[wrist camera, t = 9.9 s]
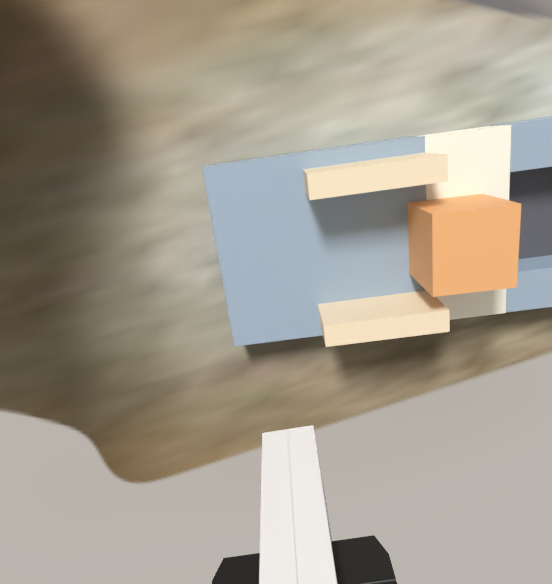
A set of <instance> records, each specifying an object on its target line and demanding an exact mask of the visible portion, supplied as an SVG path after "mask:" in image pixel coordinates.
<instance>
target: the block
mask: <svg viewBox="0 0 552 584" xmlns="http://www.w3.org/2000/svg"><path fill="white" fill-rule="evenodd" d="M520 221H521V203H517V202H513V201H509V200H505V199H501V198H497V197H494V196H490V195H486V194H475V195H467V196H458V197H450V198H441V199H433V200H424V201H416V202H408V245H409V274H410V275H411V276H412V277H413V278H414V279H415V280H416V281H417V282H418V283H419V284H420V285H421V286H422V287H423V288H424V289H425V290H426V291H427V292H428V293H429V294H430V295H431V296H432V297H437V296H446V295H455V294H463V293H472V292H481V291H490V290H499V289H508V288H517V275H518V257H519V239H520Z"/></svg>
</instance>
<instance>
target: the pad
mask: <svg viewBox="0 0 552 584" xmlns="http://www.w3.org/2000/svg"><path fill="white" fill-rule="evenodd" d="M422 136H425V152H426V153H437V154H448V181H447V182H440V183H433V184H426V200H433V199H441V198H450V197H458V196H467V195H475V194H486V195H490V196H494V197H497V198H501V199H505V200H509V187H510V155H511V154H510V153H511V149H510V148H511V125H498V126H486V127H479V128H472V129H465V130H458V131H451V132H444V133H437V134H430V135H422ZM436 298H438V299H439V300H440V301H441V302H442V303H443V304H444V305H445V306H446V307H447V308H448V309H449V317H450V320H454V319H462V318H470V317H478V316H486V315H494V314H502V313H506V289H499V290H490V291H481V292H472V293H463V294H455V295H446V296H437V297H436Z"/></svg>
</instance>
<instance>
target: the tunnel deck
mask: <svg viewBox="0 0 552 584" xmlns="http://www.w3.org/2000/svg"><path fill="white" fill-rule="evenodd" d="M498 125H511V148H510V149H511V153H510V154H511V155H510V187H509V201H513V202H517V203H521V221H520V239H519V257H518V275H517V288H508V289H506V312H514V311H522V310H530V309H538V308H546V307H552V117H546V118H539V119H532V120H525V121H518V122H511V123H504V124H497V125H490V126H498ZM202 170H203V175H204V181H205V186H206V192H207V197H208V203H209V208H210V214H211V219H212V225H213V230H214V236H215V241H216V247H217V252H218V258H219V264H220V269H221V275H222V280H223V286H224V291H225V297H226V302H227V308H228V313H229V319H230V324H231V330H232V335H233V341H234V346H242V345H250V344H258V343H266V342H274V341H282V340H290V339H298V338H306V337H314V336H322V335H323V338H324V342H325V346H326V347H330V346H338V345H346V344H354V343H362V342H371V341H379V340H387V339H395V338H403V337H411V336H419V335H427V334H435V333H443V332H450V317H449V309H448V308H447V307H446V306H445V305H444V304H443V303H442V302H441V301H440V300H439V299H438V298H436V297H432V296H431V295H430V294H429V293H428V292H427V291H426V290H425V289H424V288H423V287H422V286H421V285H420V284H419V283H418V282H417V281H416V280H415V279H414V278H413V277H412V276H411V275H410V274H409V245H408V202H416V201H424V200H426V184H433V183H440V182H447V181H448V154H437V153H426V152H425V136H413V137H404V138H397V139H390V140H383V141H376V142H369V143H362V144H355V145H348V146H340V147H333V148H326V149H319V150H312V151H305V152H298V153H291V154H284V155H277V156H269V157H262V158H255V159H248V160H241V161H234V162H227V163H220V164H213V165H207V166H205V167H202Z"/></svg>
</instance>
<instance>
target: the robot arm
mask: <svg viewBox="0 0 552 584" xmlns="http://www.w3.org/2000/svg"><path fill="white" fill-rule="evenodd" d="M212 584H397V582H396V579H395V575H394V571H393V568H392V564H391V561H390V557H389V554H388V553H387V551H386V550H385V549H384V548H383V546H382V545H381V544H380V542H379V541H378V540H377V539H376V537H375V536H368V537H360V538H353V539H346V540H339V541H332V537H331V531H330V524H329V518H328V511H327V504H326V498H325V492H324V487H323V481H322V475H321V469H320V463H319V458H318V452H317V445H316V439H315V434H314V428H313V425H312V426H306V427H299V428H293V429H286V430H280V431H273V432H267V433H262V477H261V523H260V553H258V554H250V555H244V556H237V557H229V558H224V559H223V561H222V563H221V565H220V567H219V568H218V570H217V572H216V574H215V576H214V578H213V580H212Z"/></svg>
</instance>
